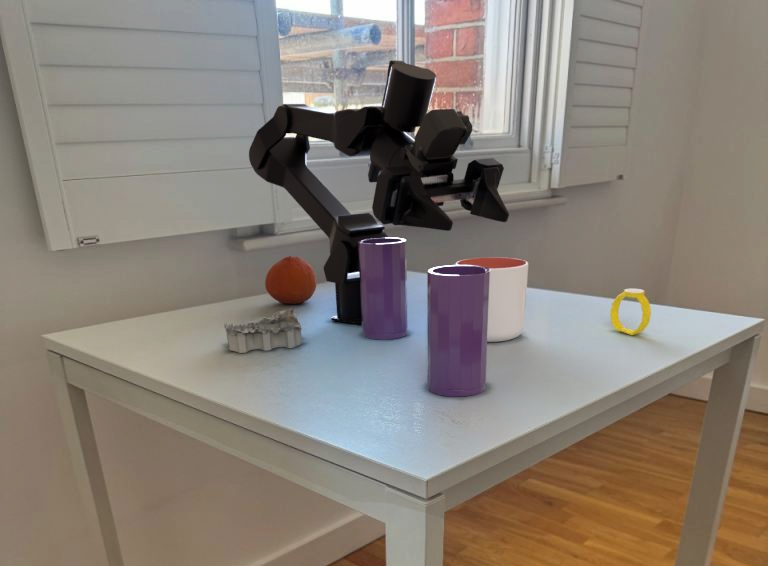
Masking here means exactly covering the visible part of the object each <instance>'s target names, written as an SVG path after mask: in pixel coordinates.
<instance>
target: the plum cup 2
mask: <svg viewBox="0 0 768 566" xmlns="http://www.w3.org/2000/svg"><path fill="white" fill-rule="evenodd" d="M426 279H427V282H426V284H427V288H426V289H427V295H426V296H427V301H426V303H427V305H426V306H427V312H426V313H427V317H426V318H427V321H426V322H427V327H426V328H427V331H426V332H427V336H426V337H427V338H426V339H427V344H426V345H427V347H426V349H427V389H428V391H430V392H431V393H433V394H435V395H438V396H443V397H452V398H453V397H454V398H455V397H456V398H458V397H459V398H460V397H471V396H475V395H479V394H481V393H482V392H484V391H485V390H486V381H487V361H488V342H487V340H488V315H489V290H490V269H488V268H486V267H481V266H472V265H455V264H452V265H441V266H435V267H432V268H429V269H428V270H427V278H426Z"/></svg>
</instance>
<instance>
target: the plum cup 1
mask: <svg viewBox="0 0 768 566" xmlns="http://www.w3.org/2000/svg"><path fill="white" fill-rule="evenodd" d="M358 251H359V273H360V295H361V318H362V324H361V330H362V336H363V337H364V338H366V339H370V340H380V341H381V340H382V341H383V340H385V341H386V340H395V339H400V338H403V337H405V336H407V335H408V275H407V273H408V272H407V271H408V270H407V269H408V268H407V239H405V238H400V237H388V238H371V239H364V240H360V241H358Z"/></svg>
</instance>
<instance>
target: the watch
mask: <svg viewBox="0 0 768 566" xmlns="http://www.w3.org/2000/svg"><path fill="white" fill-rule="evenodd" d="M645 293H646V292H645V290H644V289H641V288H635V287H634V288H633V287H632V288H625V289H623V292H622V293H620V294H618V295H617V296H616V297H615V299H614V300H613V301H612V304H611V308H610V312H609V314H610V321H611V324H612V326H613V327H614V330H615V331H618V332H620V333H624V334H627V335H630V336H636V335H638V334H640V333H642V332H643V331H645V330H646V328H647V327H648V325H649V324H650V321H651V314H652V309H651V305H650V302H649V299H648V298H647V297H646V296H645ZM626 297H627V298H633V299H636V300H637V301H638V302H639V303H640V306H641V311H642V317H641V322H640V323H639V326H638V327H637V329H635V330H634V329H631V328H628V327H625V326H624V325H623V324H622V322H621V321H620V315H619V310H620V305H621V303H622V302H623V300H624V299H625V298H626Z"/></svg>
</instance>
